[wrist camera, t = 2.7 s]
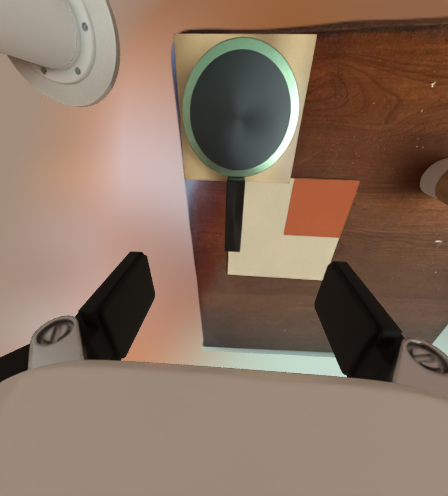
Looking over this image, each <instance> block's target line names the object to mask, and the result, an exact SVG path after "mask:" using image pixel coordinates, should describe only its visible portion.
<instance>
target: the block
mask: <svg viewBox="0 0 448 496" xmlns="http://www.w3.org/2000/svg"><path fill="white" fill-rule="evenodd" d="M234 37H253V38H256V39H260V40H262V41H264V42H266V43H268V44H270V45H271V46H273V47H274V48H275V49H277V50H278V51H279V52H280V53H281V54H282V55H283V57H284V58H285V59H286V61H287V62H288V63H289V65H290V67H291V69H292V71H293V73H294V76H295V79H296V82H297V86H298V91H299V117H298V122H297V126H296V130H295V133H294V135H293V138H292V140H291V142H290V144H289V146H288V147H287V149H286V150H285V152H284V153H283V154H282V156H281V157H280V158H279V159H278V160H277V161H276V162H275V163H274V164H273V165H272V166H270V167H269V168H267V169H266V170H264V171H263V172H260V173H258V174H256V175H253V176H249V177H245V182H264V183H290V178H291V172H292V167H293V162H294V156H295V151H296V145H297V140H298V135H299V129H300V124H301V118H302V113H303V108H304V102H305V97H306V92H307V86H308V81H309V75H310V70H311V65H312V59H313V54H314V48H315V43H316V38H317V34H174V47H175V60H176V73H177V86H178V100H179V113H180V126H181V139H182V153H183V166H184V179H188V180H213V181H227V176H223V175H221V174H218V173H216V172H214V171H213V170H211V169H210V168H208V167H207V166H206V165H204V164H203V163H202V162H201V161H200V160H199V158H198V157H197V156H196V155H195V153H194V151H193V150H192V148H191V146H190V144H189V142H188V140H187V137H186V134H185V130H184V126H183V118H182V103H183V95H184V90H185V87H186V84H187V81H188V78H189V76H190V74H191V72H192V70H193V68H194V67H195V65H196V63H197V62H198V61H199V60H200V58H201V57H202V56H203V55H204V54H205V53H206V52H207V51H208V50H209V49H210V48H212V47H213V46H215V45H216V44H218V43H220V42H222V41H224V40H227V39H231V38H234Z"/></svg>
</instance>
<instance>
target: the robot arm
mask: <svg viewBox="0 0 448 496" xmlns="http://www.w3.org/2000/svg"><path fill="white" fill-rule="evenodd" d="M87 28H88V30H87ZM0 53H3V54H7V55H9V56H13V57H16V58H19V59H22V60H25V61H27V62H28V64H29V65H30V66H31V67H32V68H33V69H34V70H36V71H37V72H38V73H39V74H41V75H42V76H44V77H46V78H47V79H49V80H51V81H54V82H57V83H61V84H76V83H79V82H81V81H82V80H84V79H85V78H86V77H87V76H88V75H89V73H90V72H91V70H92V68H93V65H94V61H95V56H96V38H95V32H94V27H93V24H92V20H91V17H90V14H89V12H88V10H87V7H86V5H85V3H84V1H83V0H0ZM80 71H81V73H80ZM154 298H155V291H154V286H153V282H152V277H151V273H150V268H149V263H148V259H147V256H146V255H144V254H143V253H142V252H130V253H129V254H128V255H127V256H126V257H125V258H124V259H123V261H122V262H121V263H120V264H119V265H118V266H117V267H116V269H115V270H114V271H113V272H112V273H111V274H110V275H109V276H108V278H107V279H106V280H105V281H104V282H103V283H102V285H101V286H100V287H99V288H98V289H97V290H96V291H95V292H94V294H93V295H92V296H91V297H90V298H89V299H88V300H87V302H86V303H85V304H84V305H83V306H82V307H81V308H80V310H79V311H78V312H79V313H78V314H77V315H76V316H75V317H73V316H61V317H58V318H55V319H53V320H50V321H48V322H47V323H45V324H44V325H42V326H41V327H40V328H39V329H38V330H36V332H35V333H34V334H33V336H32V338H31V341H30V344H28V345H26V346H24V347H22V348H20V349H17V350H15V351H13V352H11V353H9V354H7V355H5V356H2V357H0V496H448V356H447V355H446V354H444V353H443V352H442V351H441V350H439V349H438V348H437V347H435V346H433V345H432V344H430V343H428V342H426V341H423V340H421V339H416V338H406V339H405V338H404V337H403V336H402V334H401V333H402V331H401V330H400V328H399V327H398V326H397V325H396V323H395V322H394V321H393V320H392V318H391V317H390V316H389V315H388V313H387V312H386V311H385V310H384V308H383V307H382V306H381V305H380V303H379V302H378V301H377V300H376V298H375V297H374V296H373V295H372V293H371V292H370V291H369V290H368V288H367V287H366V286H365V285H364V283H363V282H362V281H361V280H360V278H359V277H358V276H357V275H356V273H355V272H354V271H353V270H352V268H351V267H350V266H349V265H348V263H347V262H337V261H333V262H332V263H331V264H328V266H327V269H326V271H325V274H324V277H323V280H322V283H321V286H320V289H319V292H318V294H317V297H316V300H315V310H316V312H317V314H318V317H319V319H320V322H321V324H322V326H323V329H324V331H325V333H326V336H327V338H328V341H329V343H330V345H331V348H332V350H333V352H334V355H335V357H336V360H337V362H338V364H339V366H340V369H341V371H342V373H343V374H344V375H347V377H337V376H325V375H312V374H300V373H287V372H275V371H262V370H248V369H234V368H221V367H208V366H193V365H179V364H165V363H149V362H135V361H121V359H122V358H125V357H126V355H127V353H128V351H129V349H130V347H131V345H132V343H133V341H134V339H135V337H136V335H137V333H138V331H139V329H140V327H141V325H142V322H143V321H144V319H145V317H146V315H147V313H148V311H149V309H150V307H151V305H152V302H153V300H154Z"/></svg>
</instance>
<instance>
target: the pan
mask: <svg viewBox="0 0 448 496" xmlns="http://www.w3.org/2000/svg"><path fill="white" fill-rule="evenodd" d="M298 117H299V91H298V86H297V82H296V79H295V76H294V73H293V71H292V69H291V67H290V65H289V63H288V62H287V61H286V59H285V58H284V57H283V55H282V54H281V53H280V52H279V51H278V50H277V49H275V48H274V47H273V46H271V45H270V44H268V43H266V42H264V41H262V40H260V39H256V38H253V37H234V38H231V39H227V40H224V41H222V42H220V43H218V44H216V45H215V46H213V47H212V48H210V49H209V50H208V51H207V52H206V53H205V54H204V55H203V56H202V57H201V58H200V60H199V61H198V62H197V63H196V65H195V67H194V68H193V70H192V72H191V74H190V76H189V78H188V81H187V84H186V87H185V90H184V95H183V103H182V118H183V126H184V130H185V134H186V137H187V140H188V142H189V144H190V146H191V148H192V150H193V151H194V153H195V155H196V156H197V157H198V158H199V160H200V161H201V162H202V163H203V164H204V165H206V166H207V167H208V168H210V169H211V170H213V171H214V172H216V173H218V174H221V175H223V176H227V183H226V218H225V251H229V252H240V247H241V234H242V221H243V208H244V194H245V177H249V176H253V175H256V174H258V173H260V172H263V171H264V170H266V169H267V168H269V167H270V166H272V165H273V164H274V163H275V162H276V161H277V160H278V159H279V158H280V157H281V156H282V154H283V153H284V152H285V150H286V149H287V147H288V146H289V144H290V142H291V140H292V138H293V135H294V133H295V130H296V126H297V122H298Z"/></svg>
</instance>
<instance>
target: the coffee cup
mask: <svg viewBox="0 0 448 496" xmlns="http://www.w3.org/2000/svg"><path fill="white" fill-rule="evenodd" d="M420 188H421V190H422V191H423V192H424V193H425V194H427V195H429V196H432V197H434V198H436V199H438V200H440V201H441V202H443V203H445V204H447V205H448V158H446V159H442V160H440V161H437V162H436V163H434V164H433V165H431V166H430V167H429V168H428V169H427V170H426V171H425V172H424V174H423V175H422V177H421V180H420Z"/></svg>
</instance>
